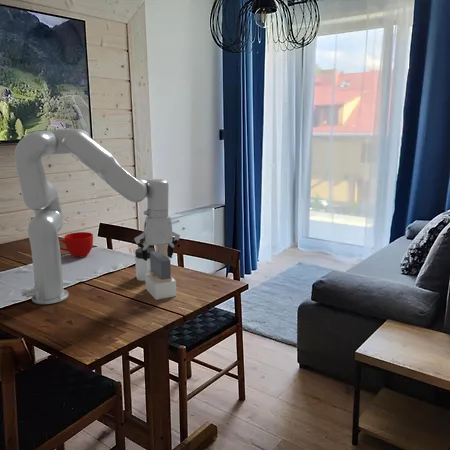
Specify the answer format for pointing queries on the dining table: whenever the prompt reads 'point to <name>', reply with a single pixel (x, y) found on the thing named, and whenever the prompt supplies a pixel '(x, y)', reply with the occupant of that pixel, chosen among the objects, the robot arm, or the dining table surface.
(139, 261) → the jar
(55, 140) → the robot arm
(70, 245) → the ceramic cup
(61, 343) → the dining table surface
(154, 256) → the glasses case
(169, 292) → the white toaster
